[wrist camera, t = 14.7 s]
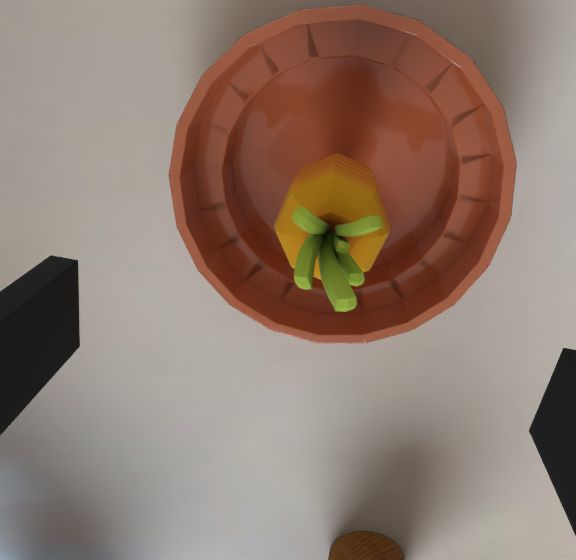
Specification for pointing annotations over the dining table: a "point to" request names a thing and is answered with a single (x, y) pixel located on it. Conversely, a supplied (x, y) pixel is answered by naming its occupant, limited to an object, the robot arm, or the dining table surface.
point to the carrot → (333, 226)
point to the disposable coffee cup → (365, 548)
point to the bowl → (356, 145)
